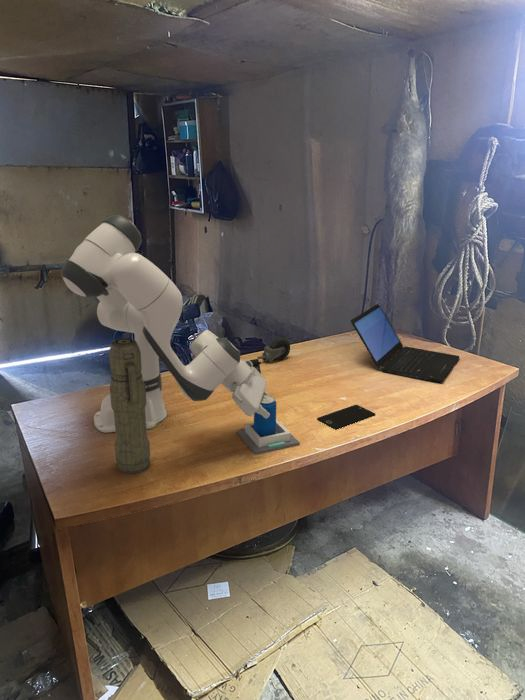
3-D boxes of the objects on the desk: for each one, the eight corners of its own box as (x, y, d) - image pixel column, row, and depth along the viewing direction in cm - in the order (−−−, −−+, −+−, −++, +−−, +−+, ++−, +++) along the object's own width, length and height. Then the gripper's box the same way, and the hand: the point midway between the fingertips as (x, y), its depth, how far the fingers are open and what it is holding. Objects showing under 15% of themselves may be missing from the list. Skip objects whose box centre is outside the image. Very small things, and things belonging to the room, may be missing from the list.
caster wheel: (283, 357, 226) (253, 361, 218) (285, 335, 224) (255, 338, 215) (291, 361, 222) (261, 365, 213) (293, 339, 219) (263, 342, 211)
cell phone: (316, 420, 170) (316, 417, 170) (356, 406, 180) (356, 404, 180) (335, 431, 163) (335, 428, 163) (375, 416, 173) (376, 413, 173)
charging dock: (255, 454, 149) (255, 444, 148) (236, 432, 161) (236, 422, 160) (299, 444, 154) (299, 434, 153) (278, 424, 166) (278, 414, 165)
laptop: (441, 385, 198) (448, 335, 191) (346, 366, 216) (349, 320, 209) (460, 359, 225) (466, 314, 218) (374, 343, 243) (378, 302, 236)
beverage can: (264, 428, 162) (264, 392, 158) (280, 435, 158) (281, 398, 154) (249, 435, 157) (249, 398, 153) (265, 443, 153) (265, 405, 149)
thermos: (127, 480, 136) (116, 351, 125) (109, 460, 145) (97, 338, 133) (159, 469, 141) (151, 344, 130) (139, 450, 150) (130, 332, 139)
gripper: (237, 384, 142) (273, 420, 144) (249, 357, 161) (281, 389, 163) (221, 398, 144) (257, 433, 146) (235, 370, 163) (266, 402, 165)
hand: (270, 410), depth 155 cm, fingers closed on beverage can, 6 cm apart
